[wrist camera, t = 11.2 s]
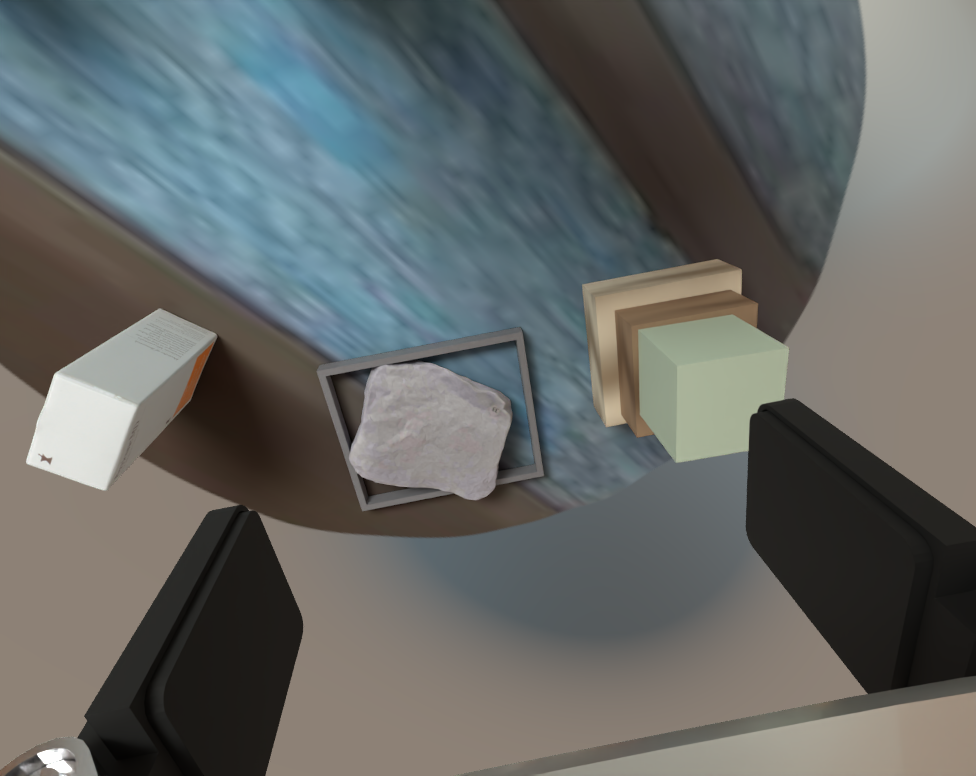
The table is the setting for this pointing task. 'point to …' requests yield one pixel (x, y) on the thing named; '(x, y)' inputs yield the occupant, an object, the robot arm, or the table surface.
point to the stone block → (430, 430)
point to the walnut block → (661, 315)
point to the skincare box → (119, 399)
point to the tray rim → (416, 353)
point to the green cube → (707, 383)
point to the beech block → (632, 293)
